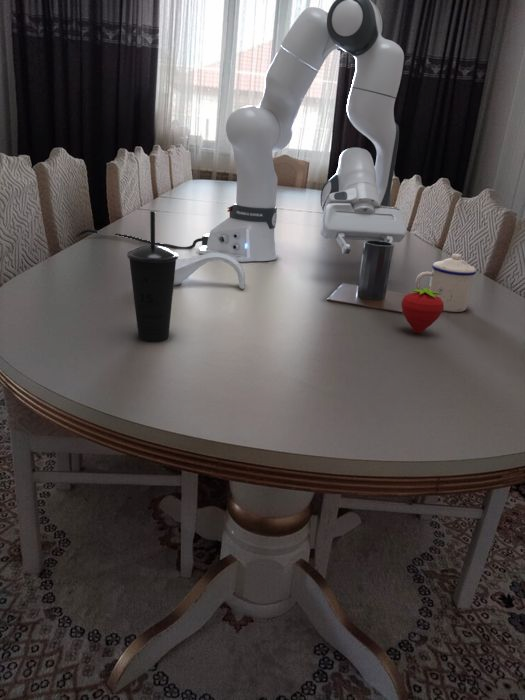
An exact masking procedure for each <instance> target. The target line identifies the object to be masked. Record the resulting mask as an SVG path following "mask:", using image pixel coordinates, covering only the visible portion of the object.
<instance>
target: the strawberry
mask: <svg viewBox="0 0 525 700" xmlns="http://www.w3.org/2000/svg"><path fill="white" fill-rule="evenodd" d="M427 283H428V287H424V288H422V290H419V289H417V288H411V292H410V293H407V294H408V295H406V296H405V297H404V298H403V300H402V303H401V304H402V311H403V312H402V314H403V315H404V318H405V319H406V321H407V323H408V325H410V327H411V329H412V331H413V332H414V333H416V334H421V333H423V332H424V331H425V330H426V329H428V328H429V327H431V326H432V325H433V324H434V323H435V322H436V321H437V320H438V319H439V318H440V317H441V314H442V312H444V311H443V309H444V306H443V301H442V300H441V298H439V297H437V296H435V295H434V294H437V295H441V294H440V293H437V292H433V291H431V290H429V289H430V281H429V280H427ZM423 290H424V291H423Z"/></svg>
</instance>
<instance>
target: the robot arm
mask: <svg viewBox="0 0 525 700" xmlns="http://www.w3.org/2000/svg"><path fill="white" fill-rule="evenodd" d="M384 31H385V22H384V17H383V15H382V13H381V11H380V10H379V8H378V7H377V5H376V4H375V3H374V1H372V0H334V1H333V3H332V4H331V6H330V7H329V9H328V12H327V11H326V10H324V9H323V8H320V7H316V6H311V7H307V8H305V9H303V10H302V12H301V13H300V14H299V16H298V17H297V19H295V21H294V23H293V24H292V25H291V27H290V29H289V30H288V32H287V33H286V35H285V36H284V38H283V40H282V42H281V44H280V46H279V48H278V50H277V52H276V53H275V56H274V57H273V59H272V61H271V63H270V65H269V67H268V69H267V71H266V73H265V76H264V89H263V93H262V97H261V100H260V103H259V105H258V106H256V105H246V106H242V107H239V108H237V109H235V110H233V111H232V112H231V113H230V115H228V118H227V120H226V123H225V133H226V137H227V139H228V141H229V142H230V145H231V147H232V151H233V155H234V163H235V169H236V196H235V198H236V199H235V203H234V204H233V205H230V206H229V207H227V211H226V212H228V213H229V217H227V218H226V219H225V220H223V221H222V222H221V223H219V224H218V225H216V226H215V227H213V228H212V229H211V230H210V232H209V233H206V234H204V235H202V236H201V237H200V238H196V239H195V240H193V242H192V243H191V245H188V246H179V245H174V244H170V243H164V244H160V243H161V242H157V243H155V246H161V247H164V248H170V249H175V250H176V249H179V250H192V249H194V248H195V247H196V244H197V243H199V242H201V247H199V249H198V253H199V254H200V255H203V254H208V253H222V254H225V255H228V256H230V257H232V258H234V259H235V260H236V261H238V262H239V263H242V262H243V263H245V262H246V263H247V262H269V261H274V260H277V258H278V255H277V250H276V238H275V237H276V236H275V228H276V225H277V218H278V208H277V207H276V205H277V193H278V183H279V182H278V181H279V180H278V175H277V172H276V171H275V165H274V157H273V154H275V153H277V152H279V151H282V150H283V149H285V148H286V147H287V146H288V145H289V144H290V142H291V140H292V136H293V127H294V125H295V122H296V119H297V116H298V114H299V110H300V108H301V105H302V102H303V100H304V98H305V96H307V93H308V92H309V89H310V88H311V86H312V84H313V82H314V81H315V79H316V77H317V75H318V73H319V71H320V70H321V68H322V66H323V64H324V63H325V61H326V60H327V58H328V56H329V55H330V54H331V53H332V52H333V51H336V50H337V51H339V52H343V53H347V54H349V55H351V56H353V58H354V60H355V71H354V75H353V79H352V84H351V87H350V91H349V94H348V98H347V104H346V113H347V117H348V119H349V122H350V123H351V125H352V126H353V127H354V128H355V129H356V130H357V131H358V132H359V133H361V134H362V135H363V136H365V137H366V138H367V139H368V140H370V141H371V143H372V145H374V147H375V150H376V159H375V164H374V159H373V157H372V154H371V152H369V151H368V150H367V149H365V148H361V147H350V148H347V149H345V150H342V152H341V154H340V155H339V158H338V166H337V169H336V173H335V174H334V175H332V177H330V179H328V180H327V181H326V182H325V183H324V185H323V186H322V189H321V191H320V207H321V210H322V212H323V214H322V216H321V220H320V235H321V236H322V237H323V238H324V239H333V240H334V239H335V240H336V243H337V245H338V246H339V247H340V248H341V253H342V254H346V255H350V252H351V243H347V242H346V240H350V241H353V240H354V241H368V240H375V241H384V242H389V243H392V244H393V243H401V242H402V241H403V240H404V238H406V235H407V233H408V229H407V226H406V221H405V219H404V217H405V216H404V212H403V210H402V209H400V208H397V206H391V199H392V198H391V197H392V186H393V185H392V184H393V179H394V172H395V167H396V161H397V154H398V149H399V140H400V127H399V125H398V123H396V121H395V114H394V113H395V110H394V109H395V103H396V99H397V96H398V92H399V88H400V86H401V85H400V84H401V80H402V77H403V69H404V61H405V53H404V51H403V49H402V47H401V46H400V44H398V43H397V42H395V41H393V40H390V39H388V38H387V39H386V38H385V37H383V36H384ZM97 231H98V230H97V229H92V228H86V229H83V230H81V231H79V233H78V235H79V236H82V235H84V234H86V233H93V234H98V233H97ZM121 234H122V233H116V234H115V235H119V236H124V237H128V238H127V239H130V238H132V239H131V240H134V239H135V241H137V242H141V243H145V244H148V245H151V242H150V241H151V240H149V241H147V240H148V239H145V240H142V239H143V238H141V239H139V238H140V237H137V238H135V237H136V236H134V237H132V236H133V235H130V236H127V235H128V234H124V235H121ZM124 237H123V238H124Z"/></svg>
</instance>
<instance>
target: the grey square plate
mask: <svg viewBox="0 0 525 700" xmlns="http://www.w3.org/2000/svg"><path fill="white" fill-rule="evenodd" d="M357 287H358V284H357V285H356V284H350V283H341V284H340V285H339V286H338V287H337V289H335V290H334V291H333V293H332V294H331V295H330V296H328V298H327V299H326V301H327V302H332V303H338V304H344V305H350V306H354V307H355V306H356V307H362V308H367V309H373V310H380V311H384V312H391V313H397V314H403V311H402V304H401V303H402V300H403V298H404V297H405V296H406V295H408V294H409V293H407V292H401V291H393V290H388V289H387V292H386V297H385V299H384V300H367V299H363V298H360V297H358V296H357Z"/></svg>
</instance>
